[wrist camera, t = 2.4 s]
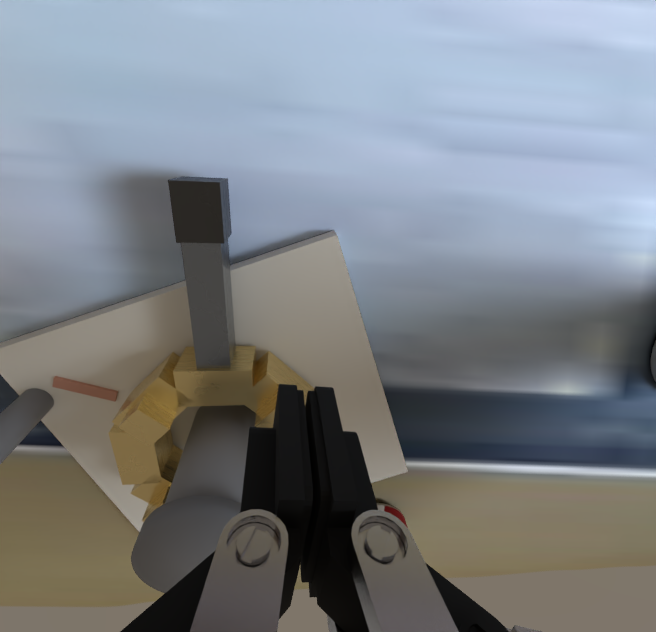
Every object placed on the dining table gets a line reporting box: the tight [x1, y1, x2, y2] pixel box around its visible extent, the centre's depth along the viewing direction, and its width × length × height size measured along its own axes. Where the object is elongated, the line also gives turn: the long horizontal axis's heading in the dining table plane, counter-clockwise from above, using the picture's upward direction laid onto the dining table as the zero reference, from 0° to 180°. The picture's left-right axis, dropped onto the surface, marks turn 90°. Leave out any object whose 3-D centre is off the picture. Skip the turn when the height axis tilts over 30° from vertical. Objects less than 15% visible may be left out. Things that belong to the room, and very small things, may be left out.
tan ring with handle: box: [108, 177, 314, 522], centre depth 23 cm, size 24×14×4 cm, turn 177°
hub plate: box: [0, 230, 408, 593], centre depth 23 cm, size 24×22×12 cm
